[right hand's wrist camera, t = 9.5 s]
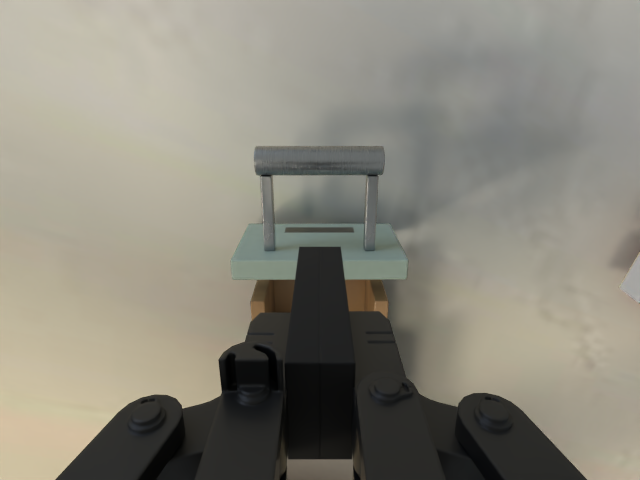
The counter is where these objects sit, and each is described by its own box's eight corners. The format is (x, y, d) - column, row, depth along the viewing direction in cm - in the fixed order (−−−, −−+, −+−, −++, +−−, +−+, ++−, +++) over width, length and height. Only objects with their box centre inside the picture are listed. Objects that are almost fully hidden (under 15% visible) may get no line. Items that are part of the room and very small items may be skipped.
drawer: (242, 135, 25) (220, 151, 20) (396, 135, 25) (418, 151, 20) (259, 382, 32) (246, 446, 26) (380, 382, 32) (393, 446, 26)
